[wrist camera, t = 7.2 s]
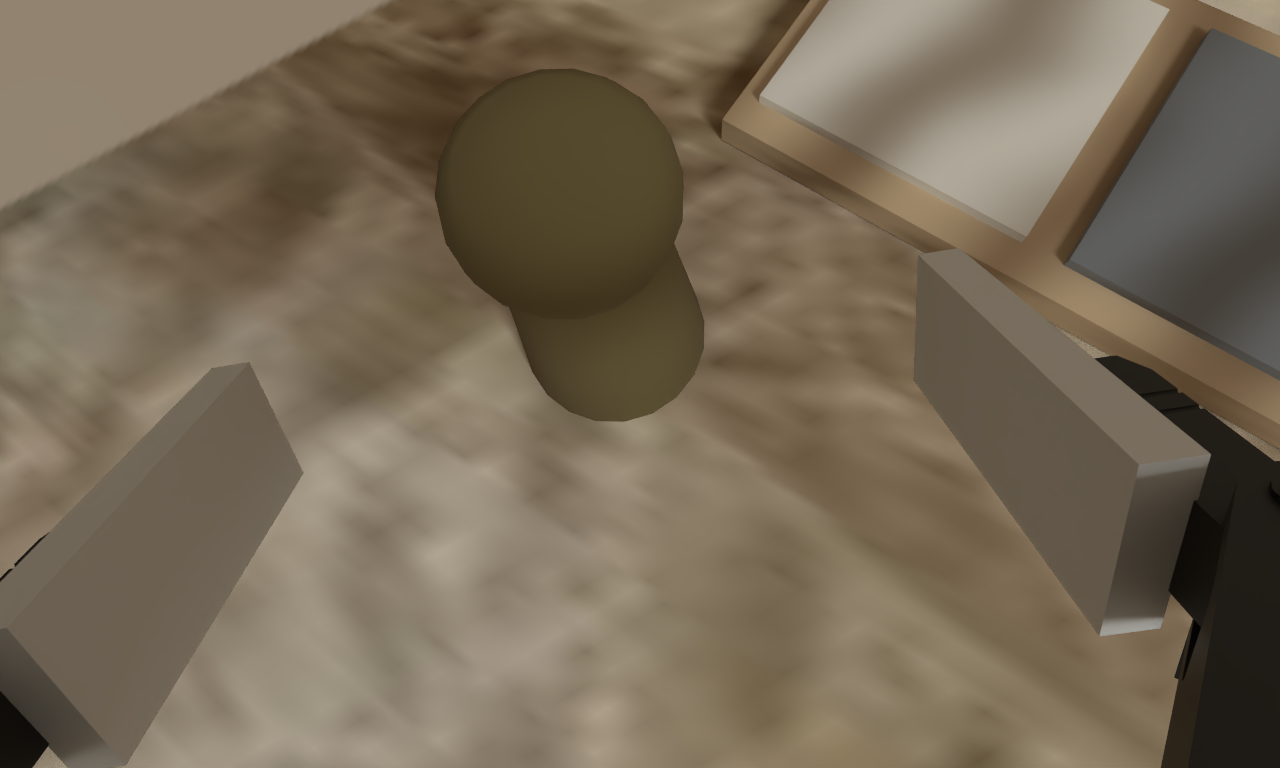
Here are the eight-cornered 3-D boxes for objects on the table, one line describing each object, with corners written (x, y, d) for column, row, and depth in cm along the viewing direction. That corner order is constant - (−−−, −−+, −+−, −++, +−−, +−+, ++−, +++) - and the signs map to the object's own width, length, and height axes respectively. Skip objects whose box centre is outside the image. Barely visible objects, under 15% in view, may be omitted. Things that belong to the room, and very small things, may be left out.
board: (721, 139, 26) (722, 112, 24) (895, -99, 28) (907, -138, 26) (1357, 491, 21) (1408, 485, 20) (1514, 177, 23) (1573, 149, 21)
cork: (687, 437, 23) (671, 326, 13) (507, 405, 24) (350, 274, 13) (718, 264, 25) (728, 32, 14) (548, 239, 25) (434, 2, 15)
